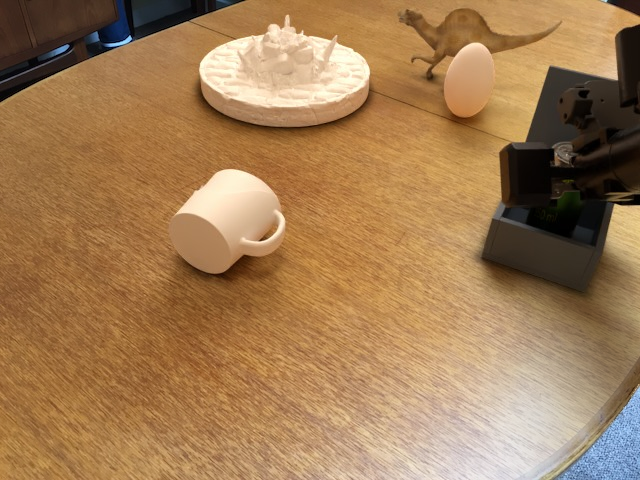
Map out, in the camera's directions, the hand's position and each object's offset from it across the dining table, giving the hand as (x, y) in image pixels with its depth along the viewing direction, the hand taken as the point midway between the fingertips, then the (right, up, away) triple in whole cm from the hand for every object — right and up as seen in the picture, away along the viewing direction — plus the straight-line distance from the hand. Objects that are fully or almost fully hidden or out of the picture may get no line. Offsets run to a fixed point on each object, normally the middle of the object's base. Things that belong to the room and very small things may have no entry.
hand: (555, 188), depth 67 cm
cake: (-32, +20, +33) cm, 51 cm away
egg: (-4, +14, +28) cm, 31 cm away
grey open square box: (0, -6, +4) cm, 8 cm away
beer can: (0, -6, +3) cm, 7 cm away
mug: (-36, -7, +1) cm, 37 cm away
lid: (+3, +6, 0) cm, 7 cm away
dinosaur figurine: (-2, +20, +36) cm, 41 cm away
